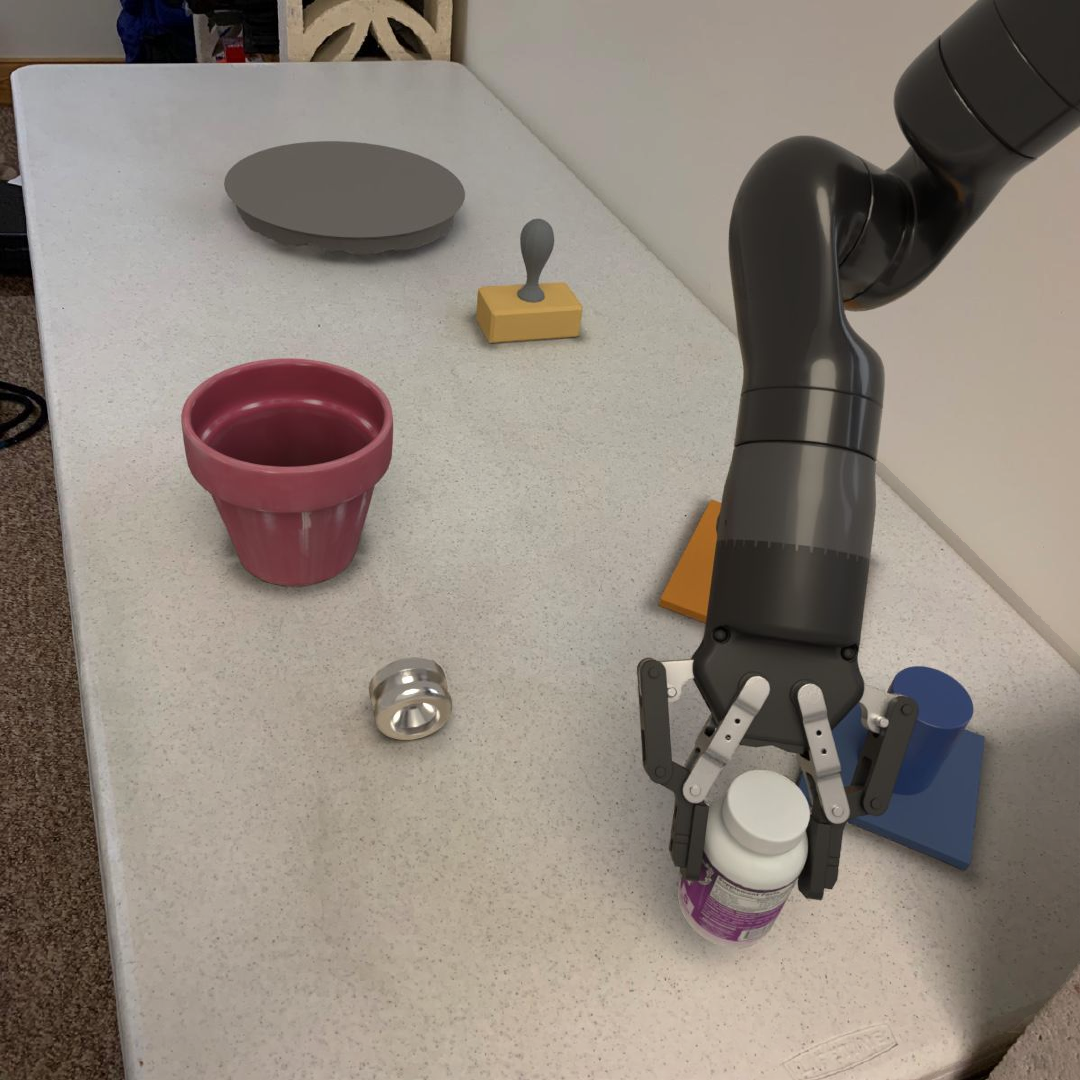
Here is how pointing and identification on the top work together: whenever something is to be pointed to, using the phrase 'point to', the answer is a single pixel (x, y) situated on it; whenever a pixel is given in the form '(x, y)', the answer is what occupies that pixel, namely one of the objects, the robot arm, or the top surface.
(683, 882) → the pill bottle
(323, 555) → the flower pot
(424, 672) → the grooved metal pulley
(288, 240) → the flat disc
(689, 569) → the amber mat
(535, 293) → the rubber stamp
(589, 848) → the top surface
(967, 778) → the blue mat
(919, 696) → the blue tin
